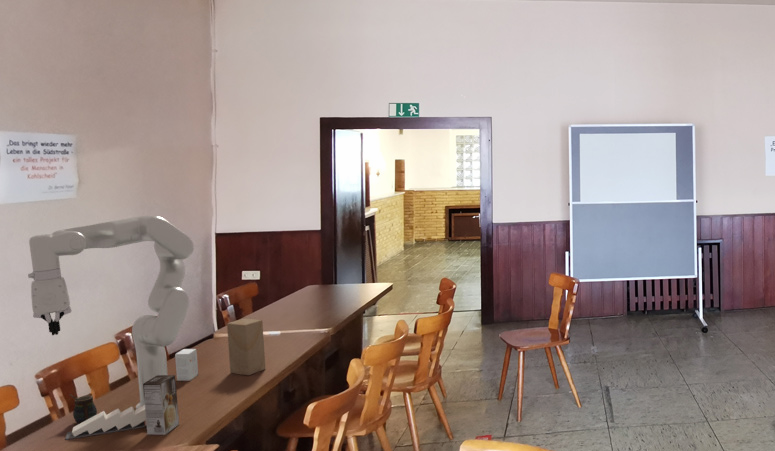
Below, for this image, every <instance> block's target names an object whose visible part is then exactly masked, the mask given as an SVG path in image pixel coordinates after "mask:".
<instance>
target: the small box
mask: <svg viewBox="0 0 775 451" xmlns="http://www.w3.org/2000/svg"><path fill="white" fill-rule="evenodd" d="M174 358H175V368H176V370H175V371H176V372H175V373H176V382H177V381H178V382H179V381H182V382H183V381H187V382H188V381H192V380H193V379H194V378H195V377H197V376H198V375H199V368H198V353H197V348H183V349H181V350H179V351H177V352H176V353H175V355H174Z"/></svg>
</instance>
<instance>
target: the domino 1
mask: <svg viewBox="0 0 775 451" xmlns="http://www.w3.org/2000/svg"><path fill="white" fill-rule="evenodd" d="M106 415H107V413H106V412H105V410H103V411H100V412H99V413H97V415H95V416H93V417H91V418H90V419H88V420H86V421H84V422H82V423H80V424H79V423H77V425H75V426H73V427H72V431H71V432H72V434H73V435H74V437H75V436H77V435H79V434H81V433H83V432H84V431H86V430H88V429H90V428H92V427H94V426H95V425H97V424H99V423H101V422H103V421H105V420H106Z"/></svg>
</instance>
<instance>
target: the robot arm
mask: <svg viewBox="0 0 775 451" xmlns="http://www.w3.org/2000/svg"><path fill="white" fill-rule="evenodd" d="M143 242H154V244H153V248H154V252H155V254H156V256H157V258H158V260H159V265H160V266H159V272H158V275H157V278H156V280H155V282H154V283H153V287H152V289H151V291H150V293H149V296H148V299H147V305H148V308H149V309H150V310H151V311H153V312H154V313H157V315H152V314H145V315H142V316H139V317H138V318H136V319H135V321H134V323H133V324H132V327H131V334H132V340H133V344H134V347H135V353H136V365H137V366H136V367H137V376H138V391H139V402H138V403H137V404H136V405H135V410H136V409H138V408H140V407H142V406H143V405H145V401H144V390H143V384H144V383H145V382H147V381H149V380H150V379H152V378H154V377H155V376H157V375H169V374H168V366H167V364H168V361H167V360H168V359H167V353H166V348H165V347H167V346H170V345H171V344H172V343H174V341H175V340H176V339H177V337H178V335H179V332H180V330H181V328H182V325H183V323H184V320H185V318H186V317H187V313H188V312H189V311H188V310H189V306H190V297H189V294H188V292H186V290H184V289H183V288H181V287H182V285H183V281H184V280H185V279H184V278H185V274H186V268H185V267H186V266H185V263H184V260H185V259H188V258H189V257H190V256H191V255H192V254H193V252H194V249H195V248H194V247H195V245H194V242H193V240H192V238H191V237H190V236H188V234H186V233H185V232H183V231H182V230H181V229H179V228H178V227H176V226H175V225H174V224H172V223H171V222H170V221H168V220H167V219H165V218H163V217H161V216H157V215H141V216H135V217H130V218H125V219H124V218H123V219H119V220H112V221H106V222H99V223H95V224H90V225H89V224H88V225H84V226H83V225H82V226H77V227H71V228H65V229H58V230H55V231H53V232H52V233H51V234H50V233H49V234H48V233H47V234H38V235H34V236H31V237H30V238H29V241H28V243H29V250H30V259H31V266H32V272H30V273H28V275H27V277H28V279H33V281H32V282H31V283H30V284H31V285H30V291H31V293H30V294H31V297H30V298H31V306H32V312H33V314H32V317H33V318H35V319H42V320H44V321H45V322H46V323H47V324H48V333H51V336H57V335H59V333H60V332H61V324H60V323H61V322H60V320H61V319H62V318H63V316H65V315H68V314H70V313H72V308H71V303H70V302H71V301H70V296H69V291H68V287H67V286H68V285H67V283H66V280H65V278H64V277H63V276H62V272H61V264H60V263H61V262H60V257H61V256H76V255H79V254H81V253H82V252H84V251H85V250H87V249H88V250H90V249H110V248H111V249H112V248H119V247H123V246H127V245H128V246H129V245H132V244H137V243H143ZM53 313H54V315H55V316H54V319H53V318H52V315H51V314H53Z"/></svg>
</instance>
